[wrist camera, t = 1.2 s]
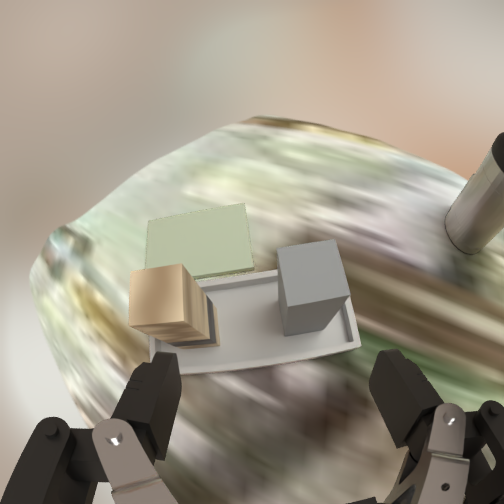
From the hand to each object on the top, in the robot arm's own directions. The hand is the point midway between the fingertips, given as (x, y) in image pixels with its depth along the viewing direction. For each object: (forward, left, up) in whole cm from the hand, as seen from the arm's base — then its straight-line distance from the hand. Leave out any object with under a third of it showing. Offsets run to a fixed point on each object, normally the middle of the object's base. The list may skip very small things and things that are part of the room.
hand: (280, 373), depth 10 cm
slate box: (-9, 0, -23) cm, 25 cm away
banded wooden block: (-2, -12, -23) cm, 26 cm away
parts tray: (-5, -6, -24) cm, 26 cm away
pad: (-13, -18, -24) cm, 33 cm away
